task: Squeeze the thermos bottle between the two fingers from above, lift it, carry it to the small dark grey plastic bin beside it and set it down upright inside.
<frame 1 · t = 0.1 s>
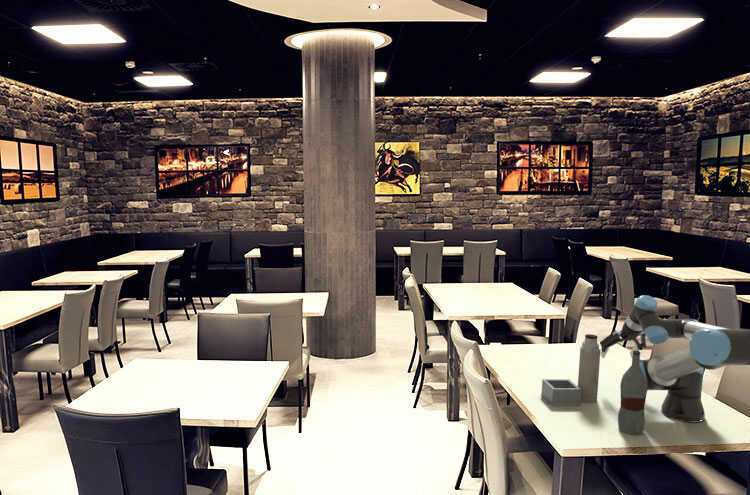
hand: (616, 355, 244), 15 cm above the table, tool tilted 35°, fingers open, 13 cm apart
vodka: (630, 430, 202), on the table
bin: (560, 400, 230), on the table
thermos bottle: (586, 399, 232), on the table
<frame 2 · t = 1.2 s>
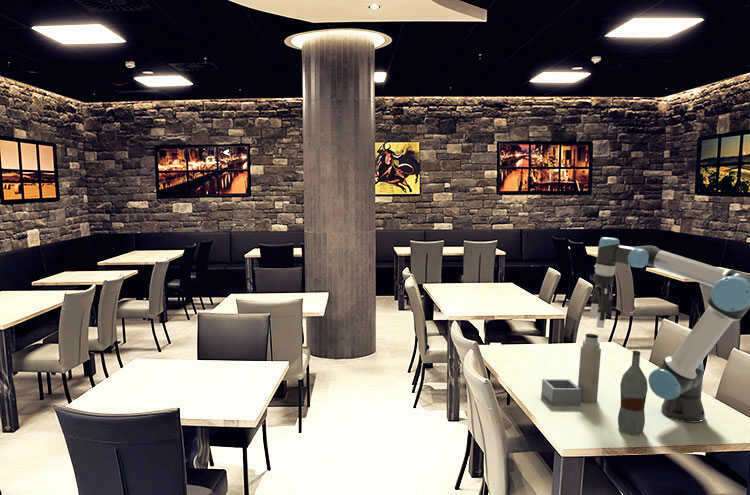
hand: (596, 322, 231), 33 cm above the table, tool pointing down, fingers open, 13 cm apart
nothing on the table moved.
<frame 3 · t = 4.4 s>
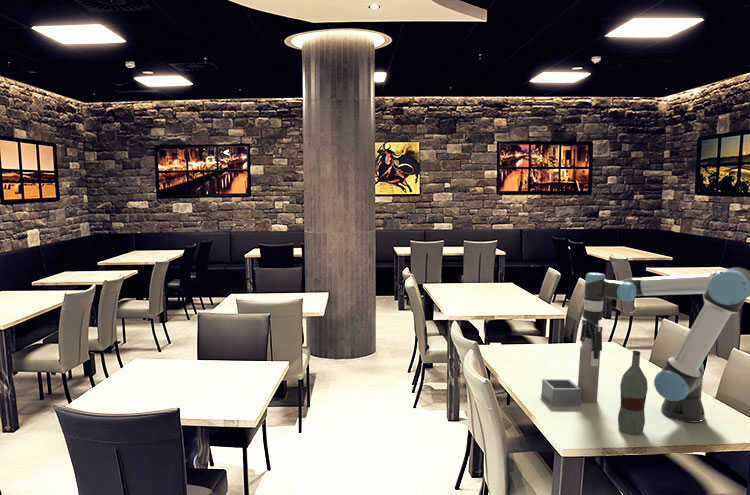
hand: (589, 362, 230), 16 cm above the table, tool pointing down, fingers closed on thermos bottle, 8 cm apart
thermos bottle: (586, 399, 232), on the table, touching gripper
everything else where it was.
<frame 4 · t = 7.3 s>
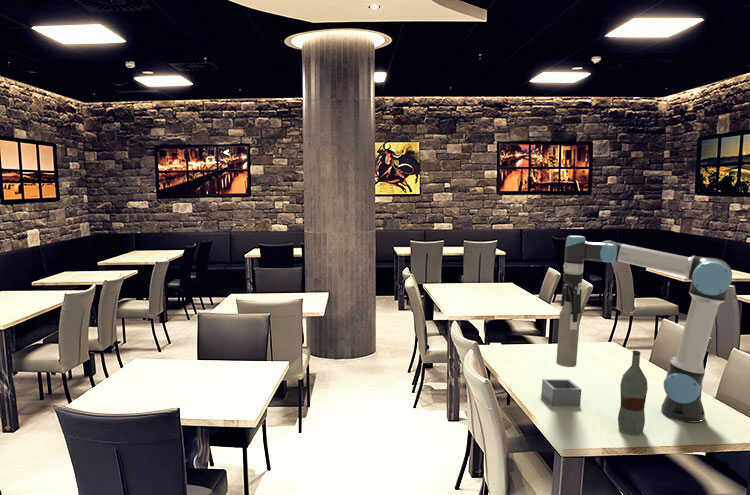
hand: (569, 326, 227), 32 cm above the table, tool pointing down, fingers closed on thermos bottle, 8 cm apart
thermos bottle: (566, 364, 229), point 15 cm above the table, touching gripper
everything else where it was.
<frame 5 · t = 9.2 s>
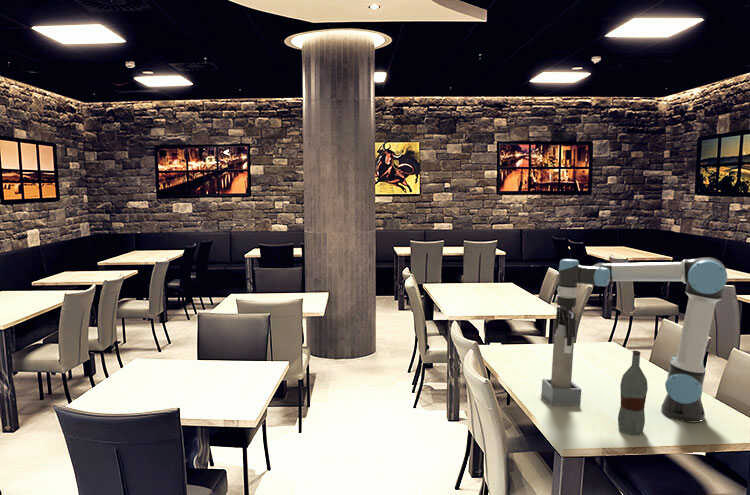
hand: (563, 349, 228), 22 cm above the table, tool pointing down, fingers closed on thermos bottle, 8 cm apart
thermos bottle: (560, 387, 229), point 6 cm above the table, touching gripper
everything else where it was.
when the fingers open (19 cm above the table, at t = 10.7 s): thermos bottle drops 1 cm, resting on bin.
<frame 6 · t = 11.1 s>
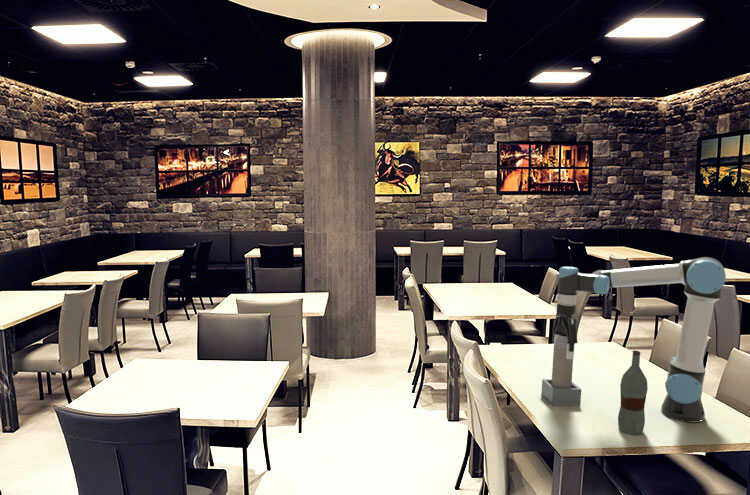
hand: (563, 354, 228), 20 cm above the table, tool pointing down, fingers open, 13 cm apart
thermos bottle: (560, 398, 230), point 1 cm above the table, touching bin
everything else where it was.
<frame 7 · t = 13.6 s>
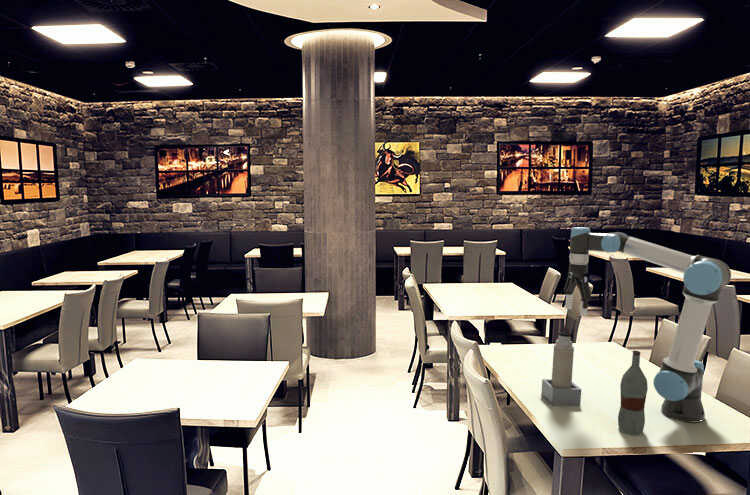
hand: (575, 312, 233), 36 cm above the table, tool pointing down, fingers open, 13 cm apart
nothing on the table moved.
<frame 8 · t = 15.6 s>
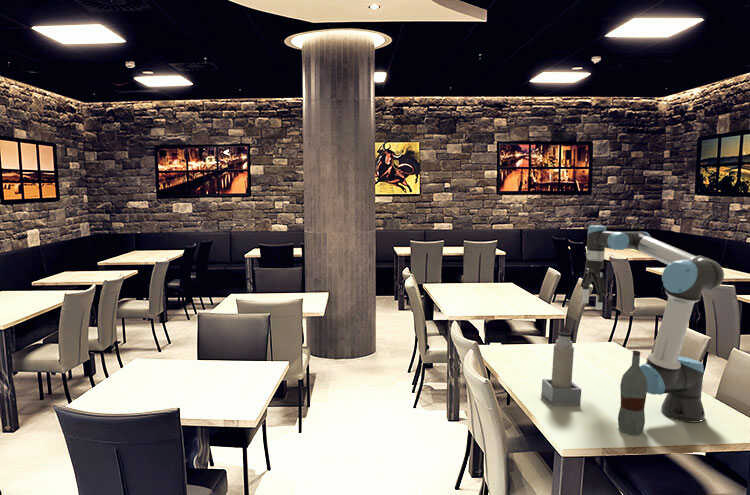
hand: (591, 306, 246), 37 cm above the table, tool pointing down, fingers open, 13 cm apart
nothing on the table moved.
at the end: thermos bottle 0.1 cm off-centre on the bin, point 0.8 cm above the bin's base; thermos bottle tilted 0°; the gripper is holding nothing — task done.
